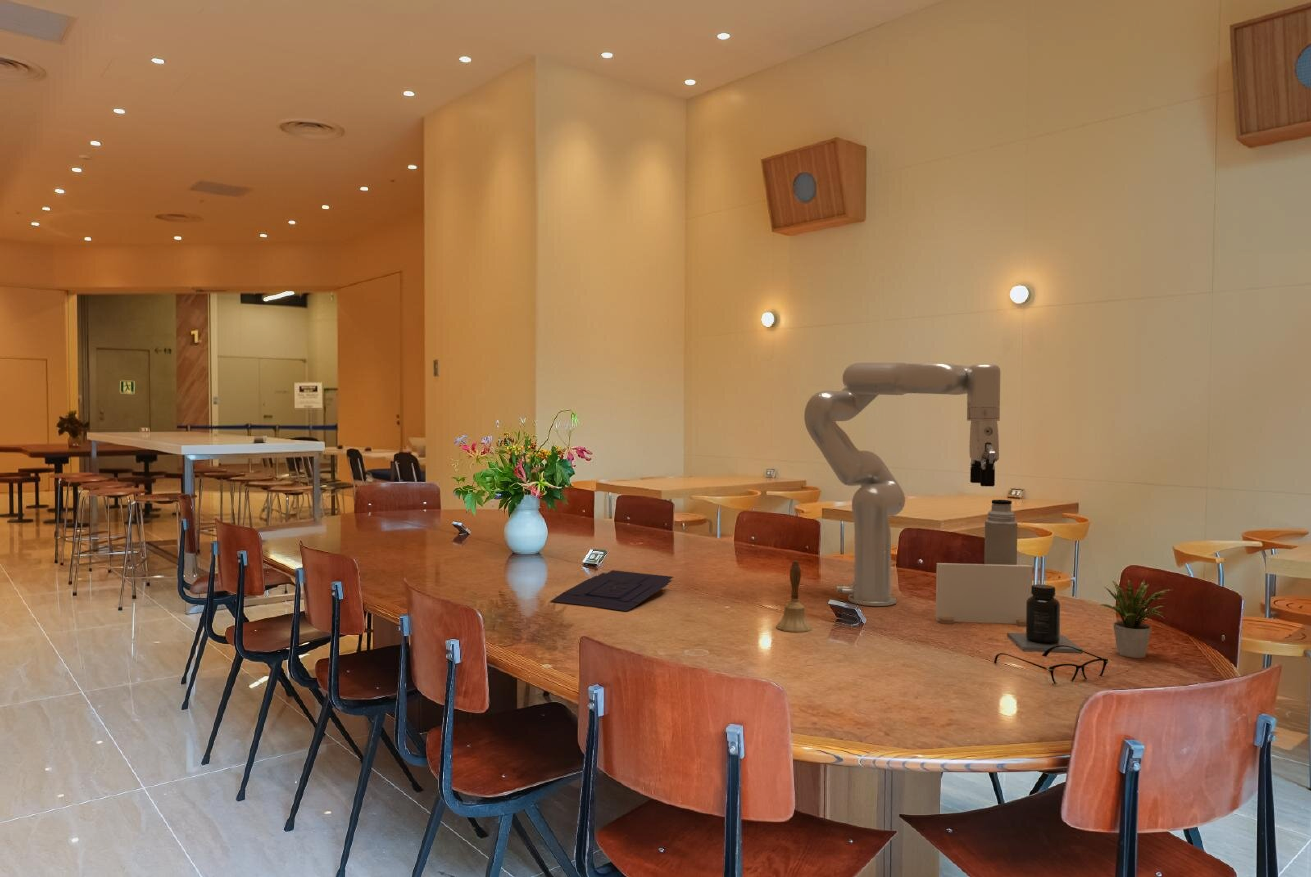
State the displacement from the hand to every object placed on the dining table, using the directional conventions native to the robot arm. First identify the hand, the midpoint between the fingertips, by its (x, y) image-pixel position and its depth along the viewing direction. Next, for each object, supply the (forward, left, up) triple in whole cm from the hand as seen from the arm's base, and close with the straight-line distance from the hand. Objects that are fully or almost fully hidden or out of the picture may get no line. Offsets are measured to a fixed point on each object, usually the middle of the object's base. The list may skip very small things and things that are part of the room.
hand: (982, 484), depth 209 cm
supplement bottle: (+8, -22, -33) cm, 40 cm away
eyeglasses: (+3, -41, -34) cm, 53 cm away
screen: (0, -3, -33) cm, 33 cm away
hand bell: (-46, -15, -34) cm, 59 cm away
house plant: (+24, -29, -34) cm, 50 cm away
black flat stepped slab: (-93, +13, -34) cm, 100 cm away
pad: (+8, -22, -33) cm, 41 cm away
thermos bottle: (+9, +16, -34) cm, 38 cm away
